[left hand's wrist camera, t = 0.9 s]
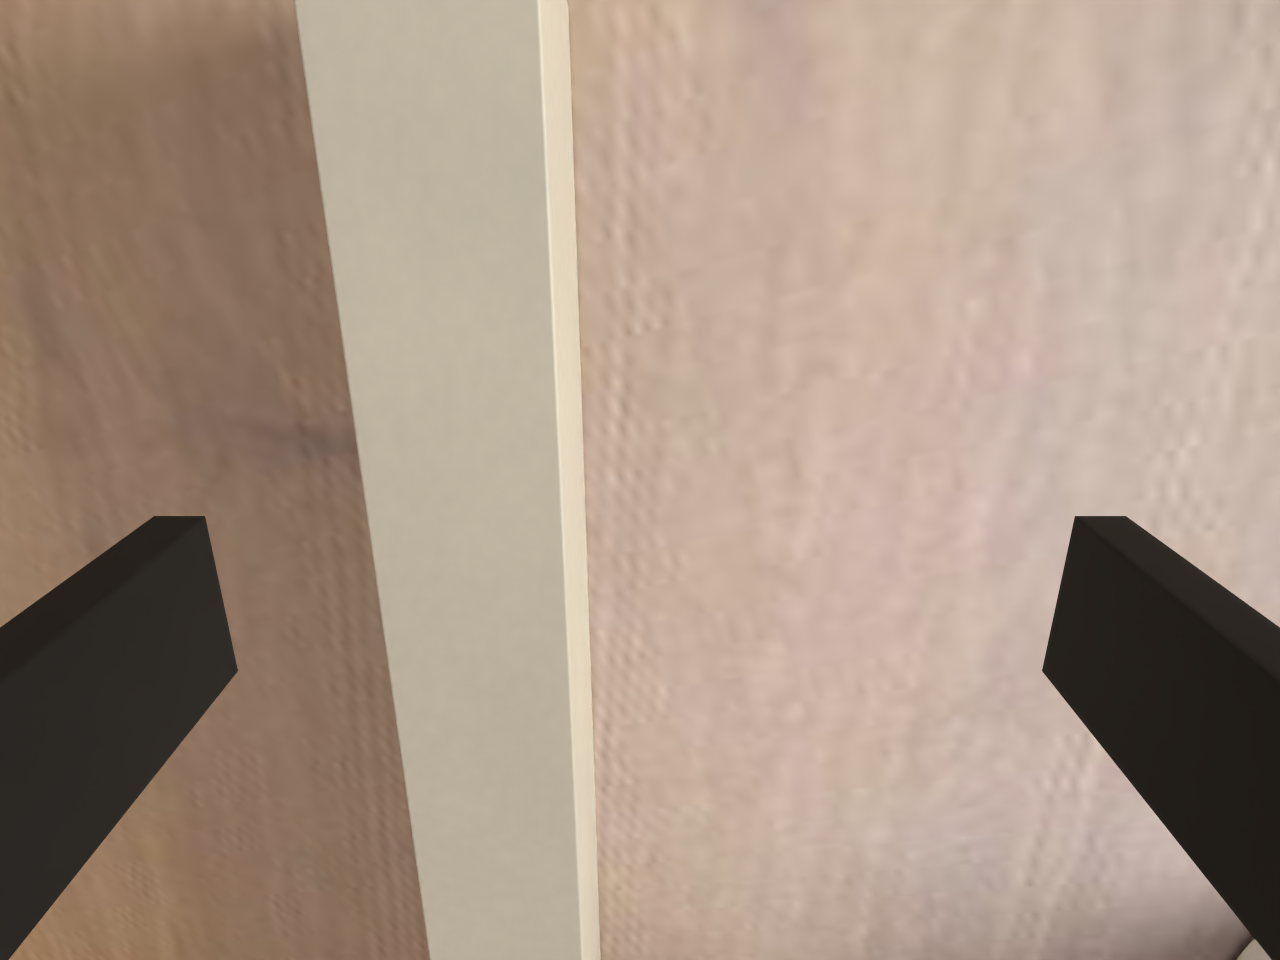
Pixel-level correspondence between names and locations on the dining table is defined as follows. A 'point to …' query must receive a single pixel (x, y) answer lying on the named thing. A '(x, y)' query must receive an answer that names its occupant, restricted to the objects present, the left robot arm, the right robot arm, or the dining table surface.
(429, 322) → the bar
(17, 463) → the dining table surface
